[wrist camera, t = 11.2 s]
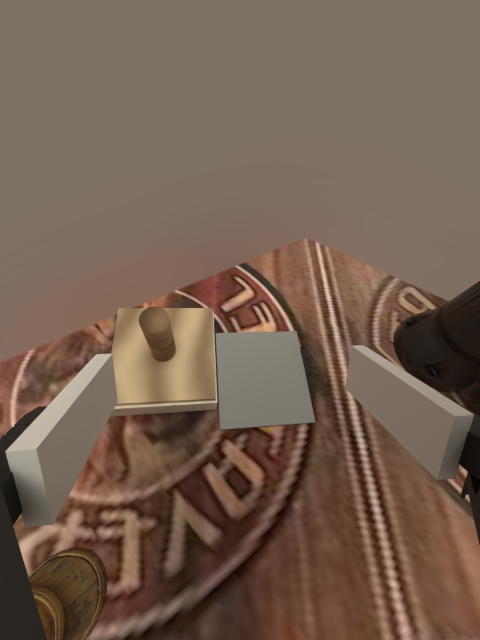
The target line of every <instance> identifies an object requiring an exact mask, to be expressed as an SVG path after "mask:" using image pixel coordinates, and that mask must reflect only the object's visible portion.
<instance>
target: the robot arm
mask: <svg viewBox="0 0 480 640" xmlns="http://www.w3.org/2000/svg"><path fill="white" fill-rule="evenodd" d="M394 346H395V350H396V353H397V355H398V358H399V359H400V361H401V363H402V364H403V366H404V367H405V368H406V370H407V371H408V372H409V373H410V374H411V375H410V374H409V373H407V372H405V371H404V370H402V369H401V368H399V367H397V366H396V365H394V364H393V363H391V362H389V361H388V360H386V359H385V358H383V357H381V356H380V355H378V354H377V353H375V352H373V351H372V350H370V349H369V348H367V347H366V346H364V345H357V346H351V352H350V359H349V365H348V372H347V379H346V386H345V388H346V389H347V390H348V391H349V392H350V393H351V394H352V395H353V396H354V397H355V398H356V399H357V400H358V401H359V402H360V403H361V404H362V405H363V406H364V407H365V408H366V409H367V410H368V411H369V412H370V413H371V414H372V415H373V416H374V417H375V418H376V419H377V420H378V421H379V422H380V423H381V424H382V425H383V426H384V427H385V428H386V429H387V430H388V432H389V433H390V434H391V435H392V436H393V437H394V438H395V439H396V440H397V441H398V442H399V443H400V444H401V445H402V446H403V447H404V448H405V449H406V450H407V451H408V452H409V453H410V454H411V455H412V456H413V457H414V458H415V459H416V460H417V461H418V462H419V463H420V464H421V465H422V466H423V467H424V468H425V469H426V470H427V471H428V472H429V473H430V474H431V475H432V476H433V477H434V478H435V479H436V480H443V479H451V478H455V476H456V473H457V470H458V467H459V464H460V465H461V466H462V467H463V468H464V469H466V470H467V471H468V474H467V477H466V480H465V483H464V486H463V489H462V492H461V498H463V499H465V495H467V494H469V498H470V503H471V507H472V512H473V516H474V521H475V525H476V530H477V535H478V539H479V544H480V416H478V415H476V414H475V413H473V412H472V411H470V410H468V409H467V408H465V407H463V406H462V405H460V404H459V403H457V402H456V403H455V401H454V400H452V399H451V398H449V397H446V395H444V394H443V393H441V392H439V391H447V392H450V391H456V390H459V389H462V388H465V387H468V386H470V385H472V384H473V383H474V382H476V381H477V380H478V379H479V378H480V281H479V282H477V283H476V284H474V285H473V286H472V287H470V288H469V289H467V290H466V291H464V292H463V293H461V294H460V295H458V296H457V297H455V298H454V299H452V300H451V301H449V302H448V303H446V304H445V305H443V306H442V307H440V308H437V309H434V310H430V311H427V312H423V313H419V314H416V315H413V316H411V317H409V318H408V319H406V320H405V321H404V322H402V323H401V324H400V325H399V326H398V327H397V329H396V331H395V335H394ZM438 390H439V391H438ZM117 402H118V398H117V390H116V381H115V373H114V364H113V356H112V354H96V355H95V356H94V357H93V358H92V359H91V361H90V362H89V363H88V364H87V365H86V366H85V367H84V368H83V369H82V370H81V371H80V372H79V373H78V374H77V375H76V377H75V378H74V379H73V380H72V381H71V382H70V383H69V384H68V385H67V386H66V387H65V388H64V389H63V390H62V391H61V393H60V394H59V395H58V396H57V397H56V398H55V399H54V400H53V401H52V402H51V403H50V404H49V405H48V406H47V407H38V408H36V409H34V410H33V411H31V412H29V413H28V414H26V415H24V416H23V417H22V418H21V419H20V420H19V421H18V422H17V423H16V424H15V426H14V427H12V428H11V429H10V430H9V431H8V432H7V433H6V435H4V436H3V437H2V438H1V439H0V640H47V638H46V634H45V631H44V628H43V624H42V621H41V618H40V615H39V611H38V608H37V605H36V601H35V598H34V595H33V591H32V588H31V585H30V581H29V578H28V575H27V571H26V568H25V565H24V561H23V558H22V555H21V551H20V548H19V545H18V541H17V538H16V535H15V531H14V528H13V525H14V523H15V522H16V520H17V519H18V517H19V516H20V514H21V513H22V516H23V520H24V524H25V528H26V527H35V526H43V525H52V524H54V522H55V520H56V518H57V516H58V514H59V513H60V511H61V509H62V507H63V505H64V503H65V501H66V499H67V497H68V495H69V493H70V492H71V490H72V488H73V486H74V484H75V482H76V480H77V478H78V476H79V474H80V472H81V471H82V469H83V467H84V465H85V463H86V461H87V459H88V457H89V455H90V453H91V451H92V450H93V448H94V446H95V444H96V442H97V440H98V438H99V436H100V434H101V432H102V430H103V429H104V427H105V425H106V423H107V421H108V419H109V417H110V415H111V413H112V411H113V410H114V408H115V406H116V404H117Z"/></svg>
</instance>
